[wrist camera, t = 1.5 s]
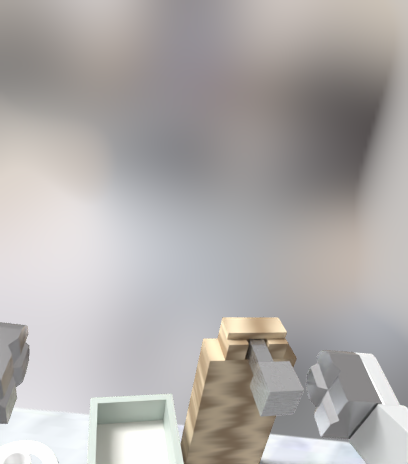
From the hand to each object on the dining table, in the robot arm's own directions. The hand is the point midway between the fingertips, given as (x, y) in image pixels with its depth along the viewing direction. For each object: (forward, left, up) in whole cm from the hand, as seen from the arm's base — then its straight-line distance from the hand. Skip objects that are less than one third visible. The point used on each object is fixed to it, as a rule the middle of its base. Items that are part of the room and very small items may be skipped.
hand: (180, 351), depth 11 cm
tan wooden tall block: (+18, +28, -53) cm, 62 cm away
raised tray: (+4, +26, -53) cm, 59 cm away
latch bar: (+18, +24, -27) cm, 40 cm away
